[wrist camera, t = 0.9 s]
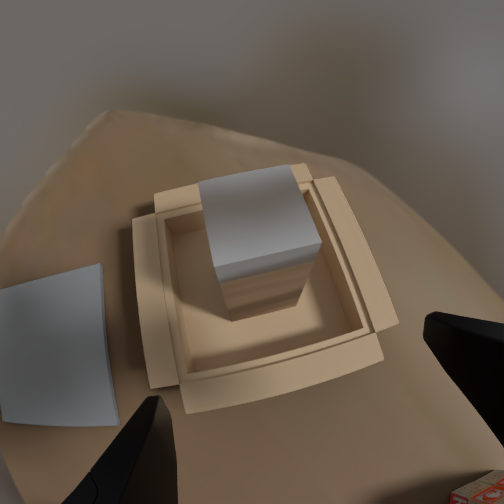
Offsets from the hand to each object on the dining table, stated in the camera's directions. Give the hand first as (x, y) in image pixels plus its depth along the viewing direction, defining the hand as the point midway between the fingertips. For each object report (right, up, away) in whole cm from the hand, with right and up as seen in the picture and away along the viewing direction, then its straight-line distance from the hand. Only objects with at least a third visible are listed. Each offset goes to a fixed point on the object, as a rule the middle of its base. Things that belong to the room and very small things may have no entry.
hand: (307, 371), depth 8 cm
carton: (-1, +1, +15) cm, 15 cm away
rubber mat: (-20, -5, +13) cm, 24 cm away
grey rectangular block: (-1, +1, +15) cm, 15 cm away
